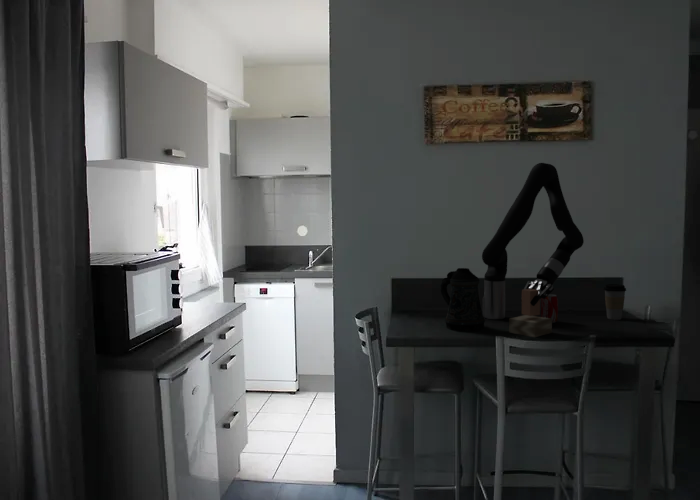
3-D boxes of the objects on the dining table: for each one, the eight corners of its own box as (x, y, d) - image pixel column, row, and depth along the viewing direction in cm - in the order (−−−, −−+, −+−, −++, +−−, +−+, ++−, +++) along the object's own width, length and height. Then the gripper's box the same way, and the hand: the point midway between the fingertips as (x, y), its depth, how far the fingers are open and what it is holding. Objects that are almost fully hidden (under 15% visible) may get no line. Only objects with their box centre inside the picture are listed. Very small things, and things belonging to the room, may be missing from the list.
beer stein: (482, 332, 254) (483, 271, 252) (435, 330, 260) (435, 270, 258) (486, 324, 270) (486, 267, 268) (441, 322, 276) (441, 266, 274)
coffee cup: (615, 321, 274) (616, 287, 273) (598, 317, 282) (598, 284, 281) (630, 319, 278) (631, 285, 277) (612, 315, 286) (613, 283, 285)
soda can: (558, 323, 270) (559, 296, 269) (541, 323, 271) (542, 296, 270) (556, 320, 277) (557, 294, 276) (540, 320, 278) (540, 293, 277)
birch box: (509, 333, 254) (509, 318, 254) (526, 328, 262) (526, 314, 261) (534, 337, 245) (534, 322, 244) (551, 333, 253) (551, 318, 252)
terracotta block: (521, 314, 254) (521, 289, 253) (531, 312, 256) (531, 288, 255) (530, 316, 249) (530, 291, 249) (539, 314, 252) (540, 290, 251)
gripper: (533, 264, 261) (510, 295, 257) (558, 267, 248) (534, 300, 244) (542, 276, 263) (520, 306, 259) (568, 279, 251) (544, 312, 246)
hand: (527, 303), depth 252 cm, fingers closed on terracotta block, 5 cm apart
